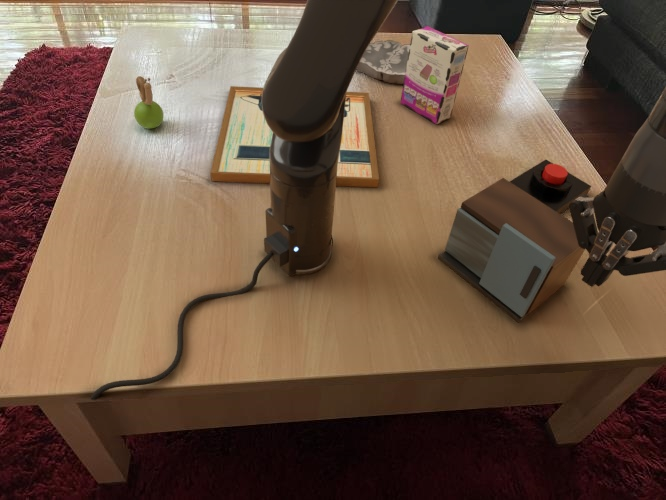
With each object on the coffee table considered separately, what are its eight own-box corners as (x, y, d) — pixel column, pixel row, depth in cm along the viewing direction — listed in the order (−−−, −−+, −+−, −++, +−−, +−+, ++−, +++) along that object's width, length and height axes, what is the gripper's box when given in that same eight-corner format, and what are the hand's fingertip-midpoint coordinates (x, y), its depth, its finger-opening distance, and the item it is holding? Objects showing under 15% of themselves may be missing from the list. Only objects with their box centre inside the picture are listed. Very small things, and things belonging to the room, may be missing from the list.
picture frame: (368, 92, 116) (379, 179, 95) (367, 100, 117) (377, 187, 96) (230, 86, 114) (210, 172, 93) (231, 93, 115) (211, 181, 95)
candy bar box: (451, 118, 114) (470, 44, 102) (436, 125, 112) (454, 51, 100) (413, 96, 120) (427, 24, 108) (398, 102, 117) (411, 30, 105)
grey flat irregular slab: (439, 63, 131) (441, 52, 129) (419, 94, 120) (421, 82, 118) (366, 45, 136) (367, 33, 134) (340, 73, 125) (341, 61, 123)
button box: (550, 221, 93) (558, 204, 90) (504, 191, 98) (511, 174, 95) (586, 195, 98) (595, 178, 96) (542, 168, 103) (549, 151, 101)
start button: (556, 187, 94) (559, 180, 92) (537, 176, 96) (540, 168, 94) (568, 179, 95) (572, 172, 94) (549, 168, 97) (553, 160, 96)
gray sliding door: (520, 318, 76) (551, 261, 67) (477, 284, 80) (501, 226, 71) (524, 314, 77) (556, 257, 68) (482, 281, 81) (506, 222, 72)
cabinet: (518, 322, 77) (544, 273, 69) (437, 258, 85) (453, 207, 77) (564, 284, 83) (593, 235, 75) (484, 227, 91) (503, 177, 83)
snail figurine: (145, 139, 102) (132, 82, 93) (133, 123, 105) (119, 67, 97) (172, 131, 104) (161, 75, 96) (158, 116, 108) (147, 60, 99)
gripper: (583, 148, 54) (528, 262, 66) (713, 220, 47) (624, 331, 60) (620, 125, 57) (561, 237, 70) (746, 188, 51) (655, 300, 63)
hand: (590, 280), depth 65 cm, fingers closed
